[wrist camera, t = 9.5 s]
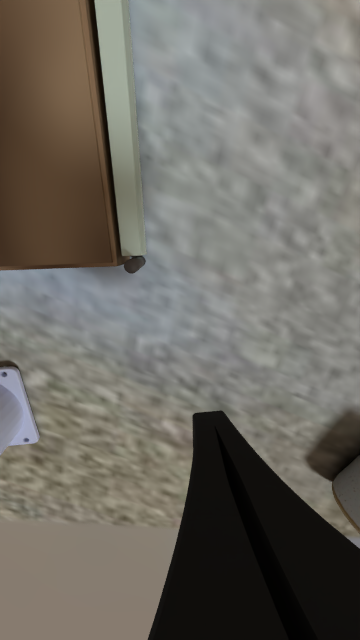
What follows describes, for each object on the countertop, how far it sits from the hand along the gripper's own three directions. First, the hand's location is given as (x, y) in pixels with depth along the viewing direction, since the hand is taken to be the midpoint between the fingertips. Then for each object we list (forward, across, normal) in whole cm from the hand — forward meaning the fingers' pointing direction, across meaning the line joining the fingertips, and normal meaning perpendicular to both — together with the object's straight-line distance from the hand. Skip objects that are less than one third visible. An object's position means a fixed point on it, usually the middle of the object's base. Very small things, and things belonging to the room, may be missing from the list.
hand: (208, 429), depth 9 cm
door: (+9, +3, -15) cm, 17 cm away
